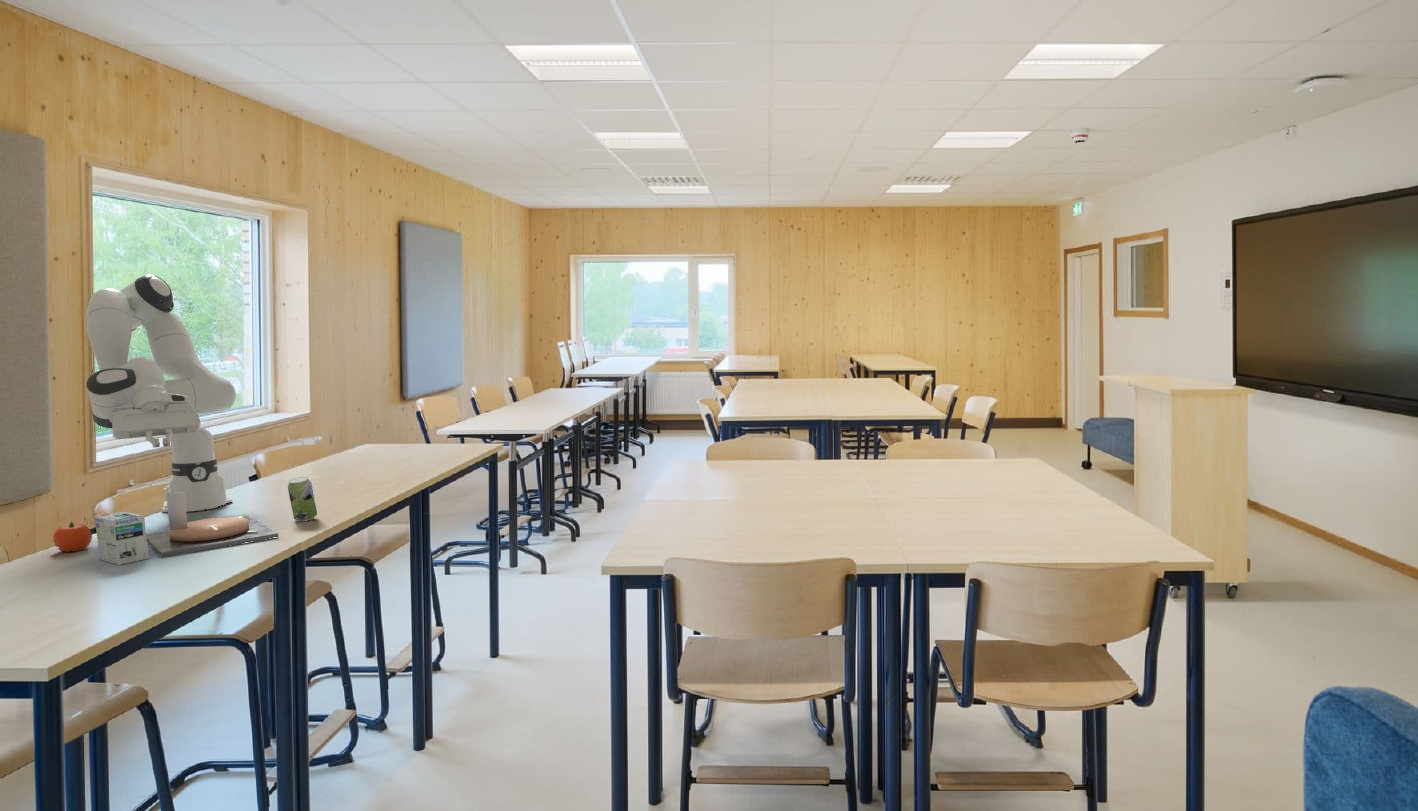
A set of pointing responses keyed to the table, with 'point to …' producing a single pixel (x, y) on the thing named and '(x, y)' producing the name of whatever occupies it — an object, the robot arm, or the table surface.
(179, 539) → the crank handwheel
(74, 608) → the table surface
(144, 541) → the light bulb box
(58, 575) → the table surface
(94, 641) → the table surface
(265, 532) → the base
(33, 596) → the table surface
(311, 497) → the beverage can
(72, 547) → the pumpkin
